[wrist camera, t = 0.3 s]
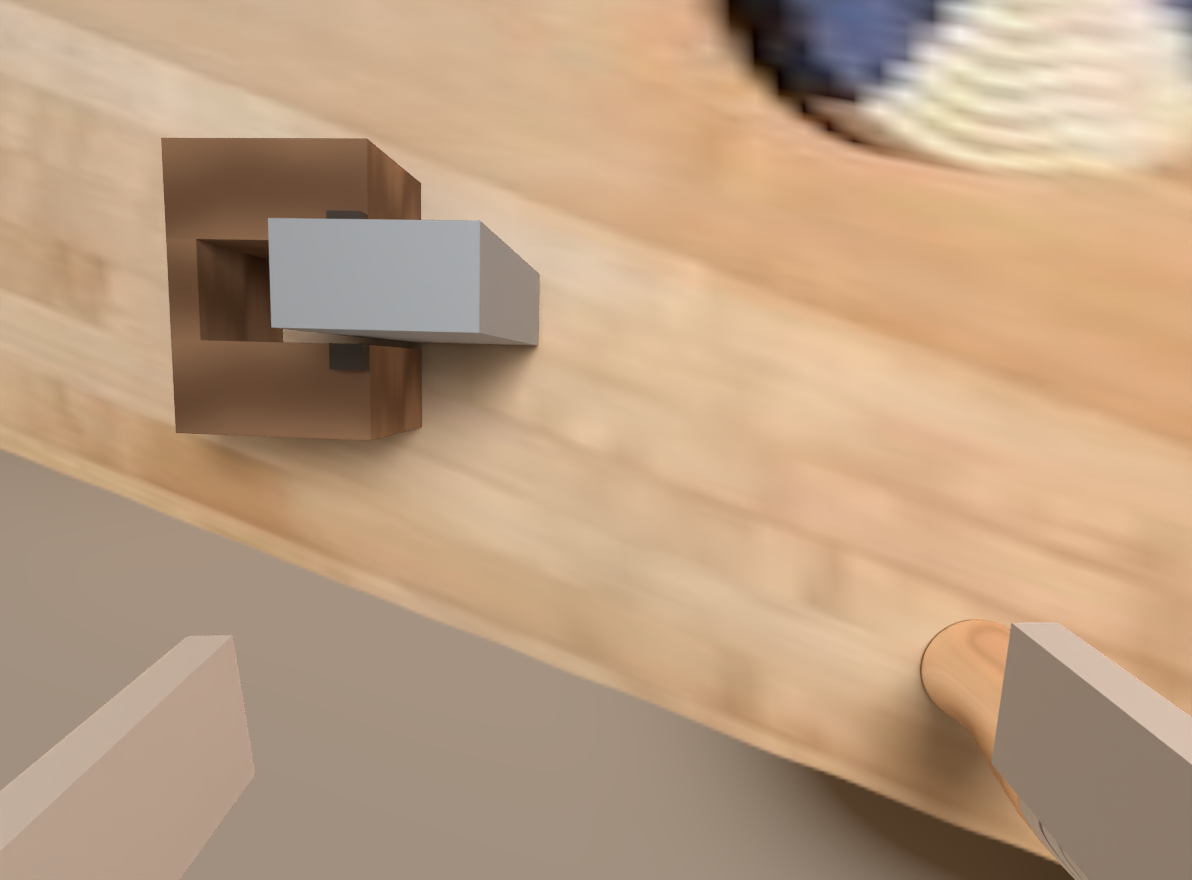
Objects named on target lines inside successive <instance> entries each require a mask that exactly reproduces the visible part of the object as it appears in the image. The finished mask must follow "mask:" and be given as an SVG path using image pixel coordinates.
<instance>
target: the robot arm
mask: <svg viewBox="0 0 1192 880" xmlns="http://www.w3.org/2000/svg"><path fill="white" fill-rule="evenodd" d="M991 764H992V765H993V766H994V767H995V769H996V770H997V771H998V772H999V773H1000V775H1001V776H1002V777H1003V778H1004V779H1005V781H1006V782H1007V783H1008V784H1009V785H1010V786H1011V788H1012V789H1013V790H1014V791H1015V792H1016V794H1017V795H1018V796H1019V797H1020V798H1021V799H1022V801H1023V802H1024V803H1025V804H1026V805H1027V807H1028V808H1029V809H1030V810H1031V811H1032V813H1033V814H1034V815H1035V816H1036V817H1037V818H1038V820H1039V821H1040V822H1041V823H1042V824H1043V826H1044V827H1045V828H1046V829H1047V830H1048V831H1049V833H1050V834H1051V835H1052V836H1053V837H1054V839H1055V840H1056V841H1057V842H1058V843H1059V844H1060V846H1061V847H1062V848H1063V849H1064V850H1065V852H1066V853H1067V854H1068V855H1069V856H1070V858H1071V859H1072V860H1073V861H1074V862H1075V863H1076V865H1077V866H1078V867H1079V868H1080V869H1081V871H1082V872H1083V873H1084V874H1085V875H1086V876H1087V878H1088V879H1089V880H1192V717H1191V716H1190V715H1188V714H1187V713H1185V712H1184V711H1183V710H1181V709H1180V708H1178V707H1177V706H1175V705H1174V704H1173V703H1171V702H1170V701H1168V700H1167V699H1166V698H1164V697H1163V696H1161V695H1160V694H1158V693H1157V692H1156V691H1154V690H1153V689H1151V688H1150V687H1149V686H1147V685H1146V684H1144V683H1143V682H1141V681H1140V680H1139V679H1137V678H1136V677H1134V676H1133V675H1132V674H1130V673H1129V672H1127V671H1126V670H1125V669H1123V668H1122V667H1120V666H1119V665H1117V664H1116V663H1115V662H1113V661H1112V660H1110V659H1109V658H1108V657H1106V656H1105V655H1103V654H1102V653H1100V652H1099V651H1098V650H1096V649H1095V648H1093V647H1092V646H1091V645H1089V644H1088V643H1086V642H1085V641H1083V640H1082V639H1081V638H1079V637H1078V636H1076V635H1075V634H1074V633H1072V632H1071V631H1069V630H1068V629H1067V628H1065V627H1064V626H1062V625H1061V624H1059V623H1058V622H1028V623H1011V630H1010V637H1009V644H1008V651H1007V658H1006V665H1005V672H1004V679H1003V686H1002V693H1001V700H1000V707H999V714H998V721H997V728H996V735H995V742H994V749H993V756H992V763H991ZM254 776H255V768H254V763H253V756H252V750H251V743H250V737H249V731H248V725H247V719H246V713H245V707H244V701H243V695H242V689H241V683H240V677H239V671H238V664H237V659H236V653H235V647H234V640H233V635H208V636H187V637H186V638H184V639H183V640H182V641H181V642H179V643H178V644H177V645H176V646H175V647H173V648H172V649H171V650H170V651H169V652H167V653H166V654H165V655H164V656H163V657H161V658H160V659H159V660H158V661H157V662H155V663H154V664H153V665H152V666H150V667H149V668H148V669H147V670H146V671H144V672H143V673H142V674H141V675H140V676H139V677H137V678H136V679H135V680H134V681H132V682H131V683H130V684H129V685H128V686H126V687H125V688H124V689H123V690H121V691H120V692H119V693H118V694H117V695H116V696H114V697H113V698H112V699H111V700H109V701H108V702H107V703H106V704H105V705H103V706H102V707H101V708H100V709H99V710H97V711H96V712H95V713H94V714H93V715H91V716H90V717H89V718H88V719H86V720H85V721H84V722H83V723H82V724H80V725H79V726H78V727H77V728H76V729H74V730H73V731H72V732H71V733H70V734H68V735H67V736H66V737H65V738H64V739H63V740H61V741H60V742H59V743H58V744H56V745H55V746H54V747H53V748H52V749H50V750H49V751H48V752H47V753H45V754H44V755H43V756H42V757H41V758H39V759H38V760H37V761H36V762H35V763H33V764H32V765H31V766H30V767H28V768H27V769H26V770H25V771H24V772H23V773H21V774H20V775H19V776H18V777H17V778H15V779H14V780H13V781H12V782H10V783H9V784H8V785H7V786H6V787H4V788H3V789H2V790H1V791H0V880H180V879H181V878H182V877H183V875H184V874H185V872H186V871H187V870H188V868H189V867H190V865H191V864H192V863H193V861H194V860H195V858H196V857H197V856H198V854H199V853H200V851H201V850H202V849H203V847H204V846H205V844H206V843H207V841H208V840H209V839H210V837H211V836H212V834H213V833H214V832H215V830H216V829H217V828H218V826H219V825H220V823H221V822H222V821H223V819H224V818H225V816H226V815H227V814H228V812H229V811H230V809H231V808H232V807H233V805H234V804H235V802H236V801H237V800H238V798H239V797H240V795H241V794H242V793H243V791H244V789H245V788H246V787H247V786H248V784H249V783H250V781H251V780H252V779H253V777H254Z"/></svg>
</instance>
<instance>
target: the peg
mask: <svg viewBox="0 0 1192 880" xmlns="http://www.w3.org/2000/svg"><path fill="white" fill-rule="evenodd" d="M268 237H269V269H270V301H271V327H272V328H281V329H290V330H300V331H309V332H318V333H327V334H336V335H345V336H355V337H364V338H373V339H382V340H391V341H400V342H430V343H467V344H505V345H538V332H539V276H540V274H539V273H538V272H536V271H535V270H534V269H533V268H532V267H531V266H530V265H529V264H528V263H526V262H525V261H524V260H523V259H522V258H521V257H520V256H519V255H518V254H516V253H515V252H514V251H513V250H512V249H511V248H510V247H509V246H508V245H506V244H505V243H504V242H503V241H502V240H501V239H500V238H499V237H498V236H496V235H495V234H494V233H493V232H492V231H491V230H490V229H489V228H488V227H486V226H485V225H484V224H483V223H482V222H481V221H463V220H383V219H302V218H268Z"/></svg>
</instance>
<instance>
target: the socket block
mask: <svg viewBox="0 0 1192 880" xmlns="http://www.w3.org/2000/svg"><path fill="white" fill-rule="evenodd" d="M161 142H162V162H163V182H164V202H165V222H166V242H167V262H168V282H169V303H170V323H171V343H172V363H173V383H174V403H175V423H176V433H191V434H217V435H243V436H269V437H294V438H320V439H346V440H375V439H378V438H382V437H386V436H390V435H393V434H397V433H401V432H405V431H408V430H412V429H416V428H420V427H422V390H421V349H412V348H400V347H388V346H376V345H365V344H333V343H329V344H318V343H283V337H282V329H281V328H272V327H271V301H270V269H269V237H268V218H302V219H383V220H421V183H420V182H419V181H417V180H416V179H415V178H414V177H413V176H411V175H410V174H409V173H408V172H407V171H405V170H404V169H403V168H402V167H401V166H399V165H398V164H397V163H396V162H395V161H393V160H392V159H391V158H390V157H388V156H387V155H386V154H385V153H384V152H382V151H381V150H380V149H379V148H378V147H376V146H375V145H374V144H373V143H372V142H370V141H369V140H368V139H333V138H161Z"/></svg>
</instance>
